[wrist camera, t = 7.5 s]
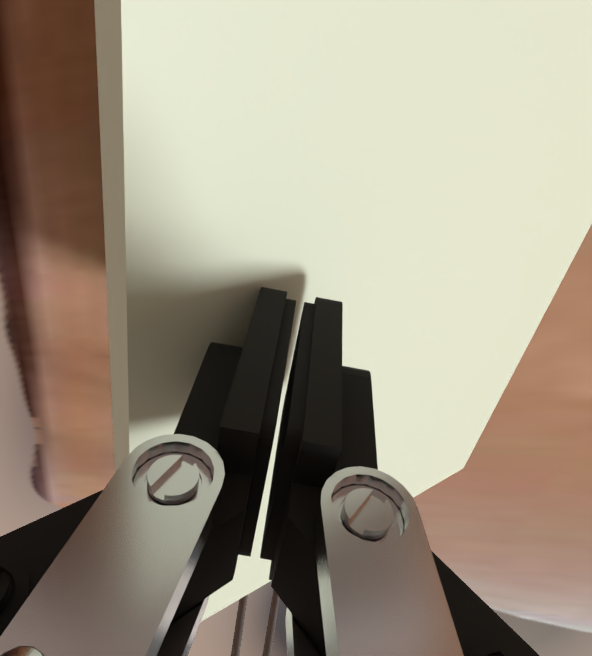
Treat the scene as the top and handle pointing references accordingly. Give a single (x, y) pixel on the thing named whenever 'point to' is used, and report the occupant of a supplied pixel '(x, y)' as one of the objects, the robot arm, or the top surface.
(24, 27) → the top surface
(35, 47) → the top surface
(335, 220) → the lid
